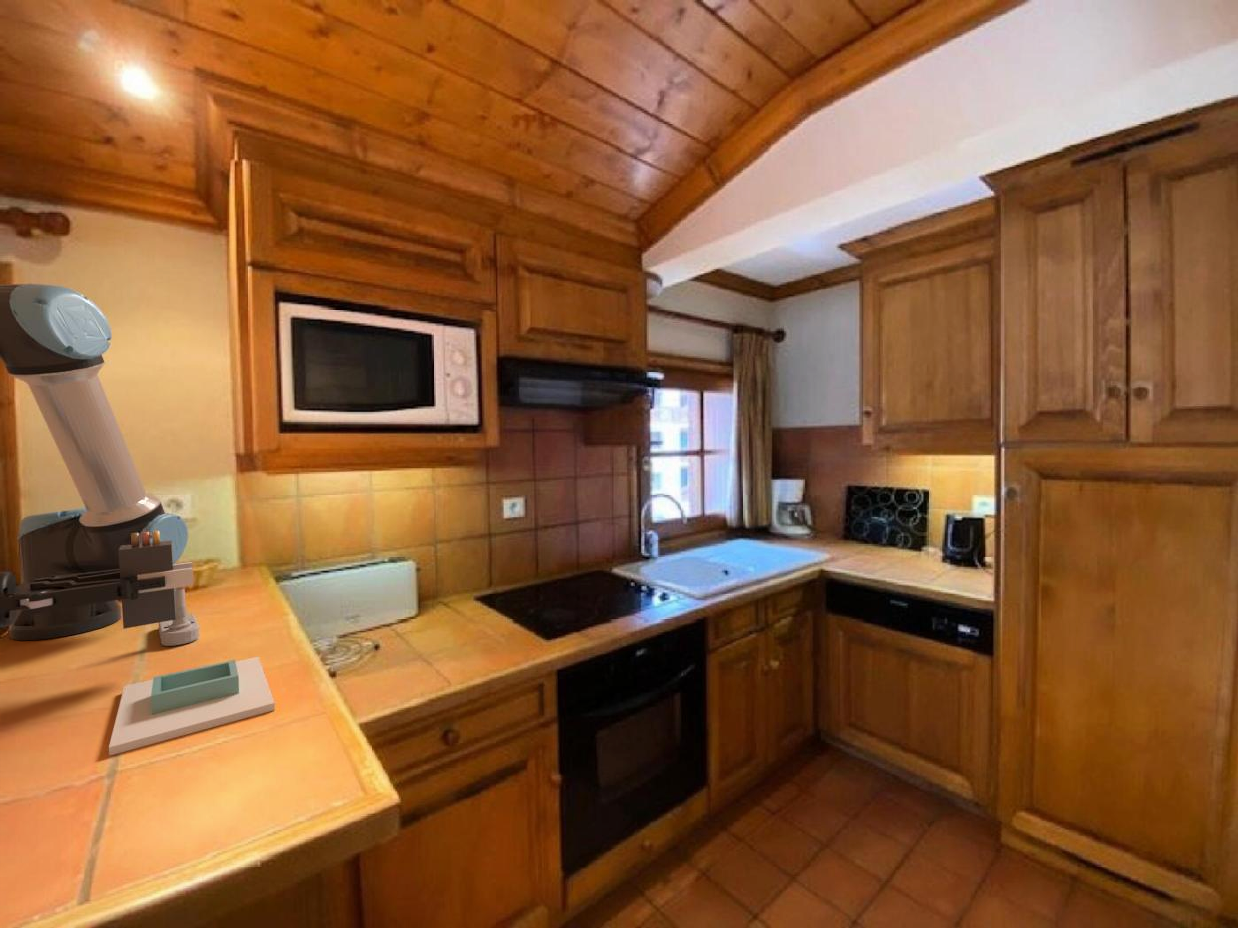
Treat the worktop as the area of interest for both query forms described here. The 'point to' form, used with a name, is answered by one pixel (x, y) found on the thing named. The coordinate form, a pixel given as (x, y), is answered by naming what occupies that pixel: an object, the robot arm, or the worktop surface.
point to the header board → (189, 703)
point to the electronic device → (179, 624)
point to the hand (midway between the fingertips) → (192, 573)
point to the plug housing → (146, 561)
